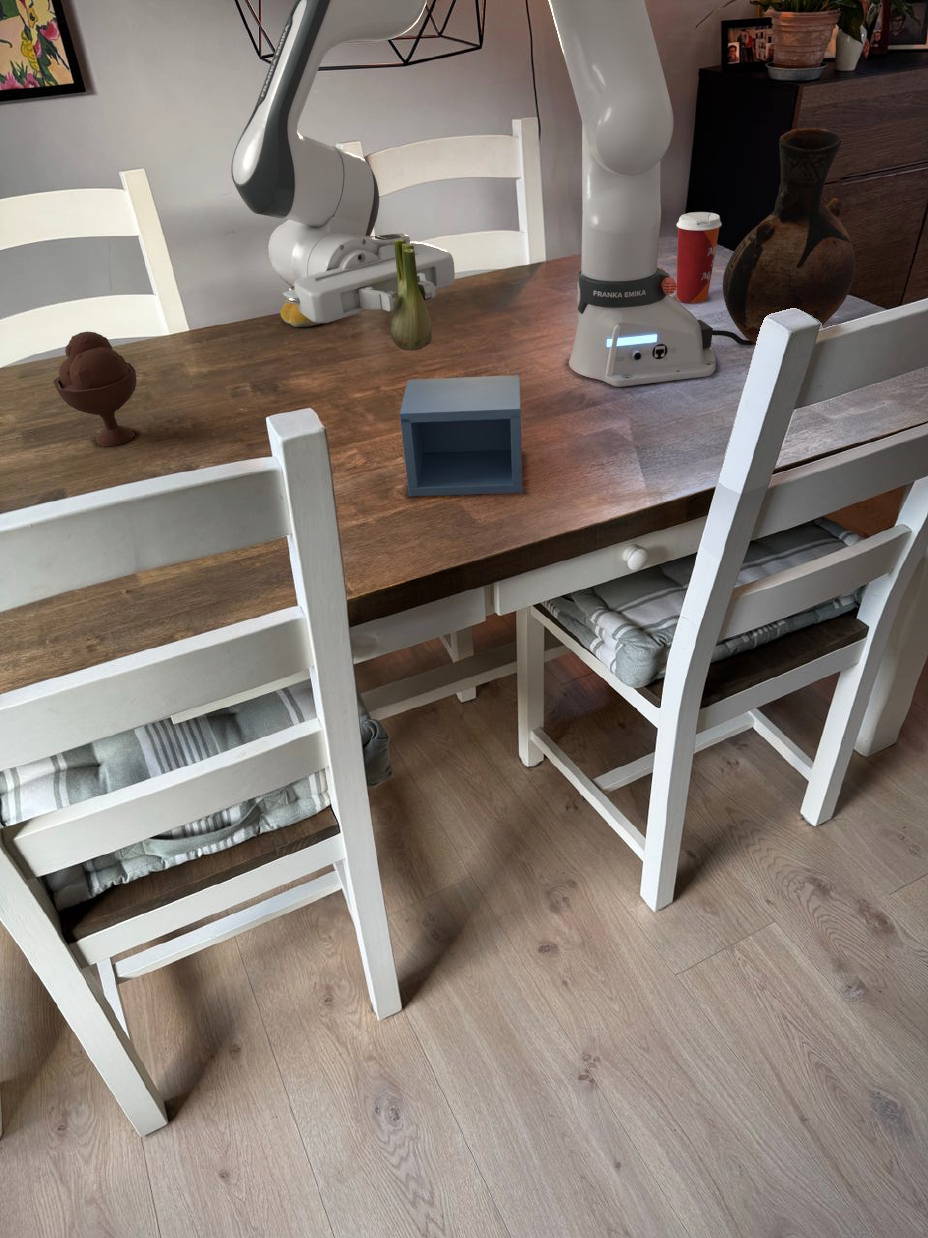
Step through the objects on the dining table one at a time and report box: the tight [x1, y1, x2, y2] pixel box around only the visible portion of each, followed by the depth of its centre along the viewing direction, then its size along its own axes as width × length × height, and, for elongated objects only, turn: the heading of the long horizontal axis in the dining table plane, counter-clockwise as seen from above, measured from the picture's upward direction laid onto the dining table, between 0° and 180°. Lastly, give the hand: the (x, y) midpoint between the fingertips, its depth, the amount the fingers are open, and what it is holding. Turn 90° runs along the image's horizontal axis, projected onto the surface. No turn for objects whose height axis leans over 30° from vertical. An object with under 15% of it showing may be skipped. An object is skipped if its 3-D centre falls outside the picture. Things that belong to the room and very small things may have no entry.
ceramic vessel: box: [722, 127, 856, 344], centre depth 129 cm, size 21×18×30 cm
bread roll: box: [280, 301, 321, 328], centre depth 160 cm, size 8×9×4 cm
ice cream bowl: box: [52, 331, 137, 448], centre depth 120 cm, size 11×11×15 cm
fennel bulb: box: [390, 239, 433, 351], centre depth 99 cm, size 6×5×12 cm
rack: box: [399, 374, 523, 497], centre depth 106 cm, size 14×10×11 cm
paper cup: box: [675, 211, 723, 304], centre depth 153 cm, size 8×8×14 cm
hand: (413, 297), depth 98 cm, fingers closed on fennel bulb, 3 cm apart
